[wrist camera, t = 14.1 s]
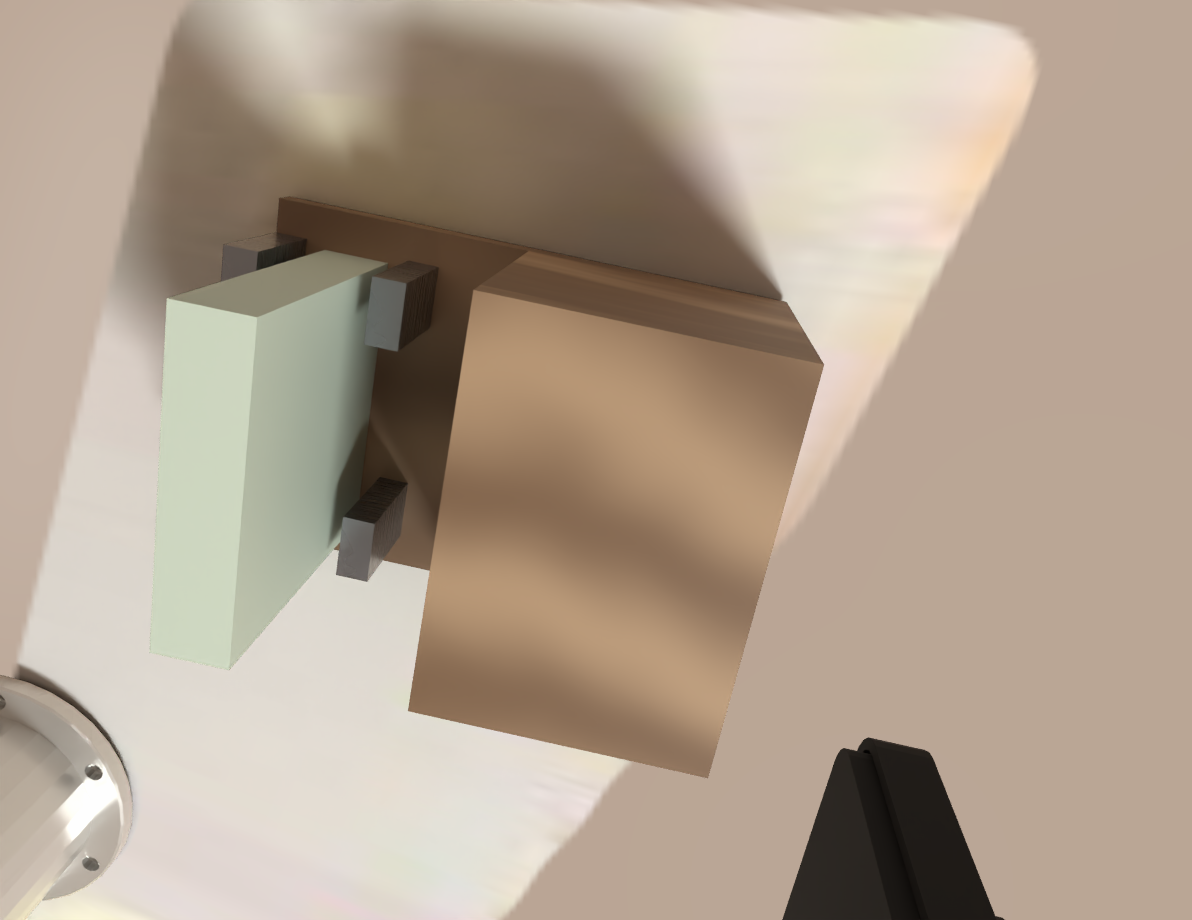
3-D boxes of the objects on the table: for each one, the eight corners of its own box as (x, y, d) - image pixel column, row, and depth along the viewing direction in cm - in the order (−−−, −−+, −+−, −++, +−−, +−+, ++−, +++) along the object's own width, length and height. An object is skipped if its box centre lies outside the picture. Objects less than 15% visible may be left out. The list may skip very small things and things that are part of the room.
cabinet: (703, 619, 42) (707, 778, 32) (260, 522, 42) (121, 646, 32) (786, 301, 37) (824, 364, 27) (289, 196, 38) (138, 218, 28)
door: (356, 523, 41) (229, 670, 30) (285, 507, 41) (130, 648, 30) (388, 263, 37) (257, 317, 26) (309, 246, 37) (145, 293, 26)
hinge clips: (400, 535, 41) (367, 581, 37) (252, 503, 41) (202, 545, 37) (438, 266, 37) (406, 283, 33) (276, 232, 37) (223, 244, 33)
